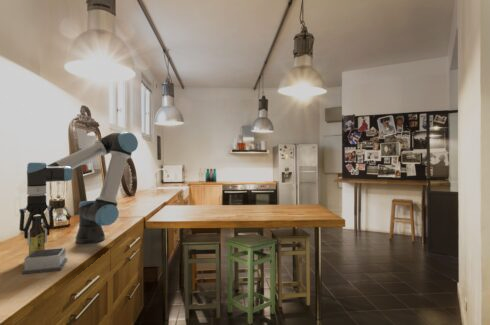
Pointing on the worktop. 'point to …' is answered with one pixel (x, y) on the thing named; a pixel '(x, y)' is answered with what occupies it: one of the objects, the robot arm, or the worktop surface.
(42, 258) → the open gray square box
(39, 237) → the sauce bottle
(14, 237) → the worktop surface
